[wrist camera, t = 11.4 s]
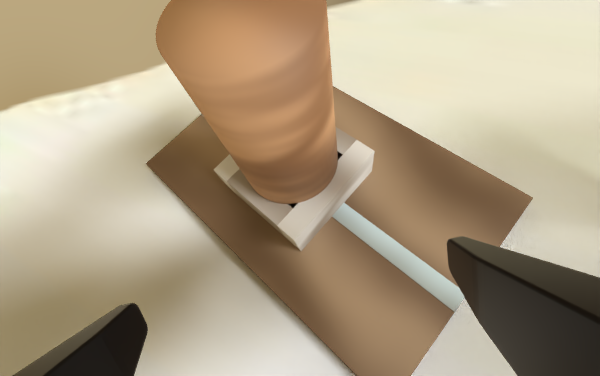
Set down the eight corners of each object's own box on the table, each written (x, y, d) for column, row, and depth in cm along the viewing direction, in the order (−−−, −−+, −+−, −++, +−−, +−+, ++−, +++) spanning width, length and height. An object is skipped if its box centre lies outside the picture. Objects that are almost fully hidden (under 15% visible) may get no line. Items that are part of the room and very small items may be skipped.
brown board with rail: (386, 403, 15) (395, 421, 12) (152, 168, 24) (123, 145, 21) (525, 202, 18) (559, 178, 15) (274, 59, 27) (264, 26, 24)
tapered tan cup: (300, 236, 19) (231, 108, 8) (241, 185, 21) (124, 31, 10) (356, 173, 20) (363, -12, 9) (295, 131, 22) (243, -57, 11)
